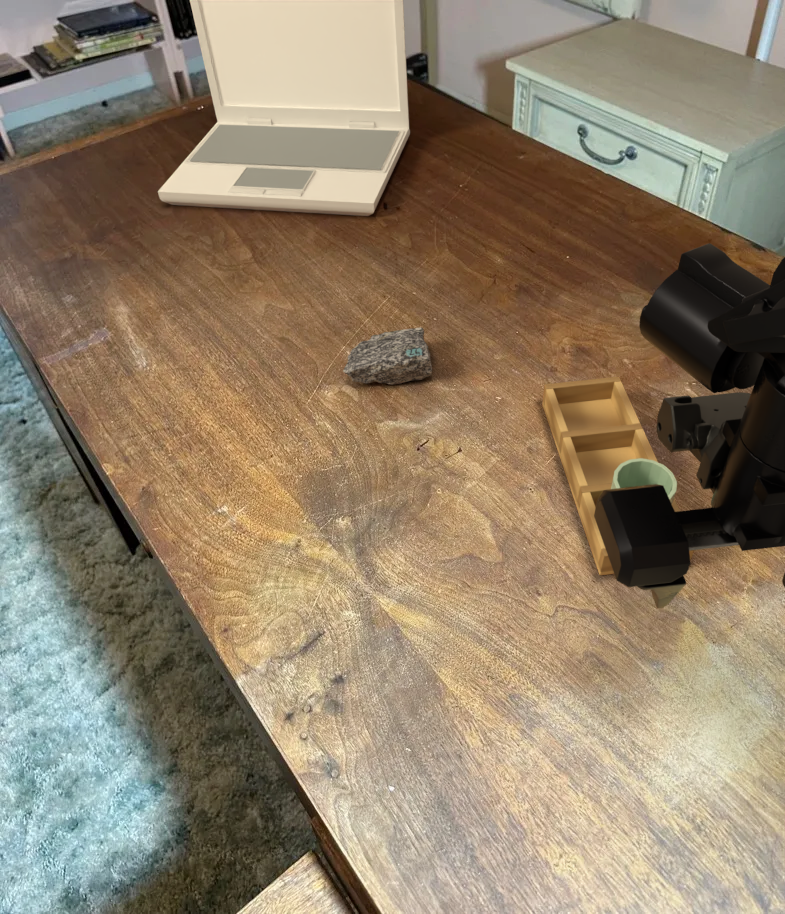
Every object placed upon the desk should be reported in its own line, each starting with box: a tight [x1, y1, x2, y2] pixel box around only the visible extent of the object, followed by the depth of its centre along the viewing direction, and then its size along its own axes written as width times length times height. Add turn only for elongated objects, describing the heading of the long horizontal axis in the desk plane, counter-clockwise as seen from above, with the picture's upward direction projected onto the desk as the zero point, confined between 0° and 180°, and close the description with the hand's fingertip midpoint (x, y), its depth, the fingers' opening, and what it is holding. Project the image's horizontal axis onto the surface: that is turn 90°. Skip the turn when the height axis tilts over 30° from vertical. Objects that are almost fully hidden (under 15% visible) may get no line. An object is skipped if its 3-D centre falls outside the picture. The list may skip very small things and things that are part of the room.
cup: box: [611, 458, 678, 504], centre depth 69 cm, size 5×5×7 cm
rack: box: [541, 376, 695, 576], centre depth 76 cm, size 23×8×3 cm, turn 5°
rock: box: [342, 327, 433, 385], centre depth 89 cm, size 8×10×4 cm
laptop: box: [157, 0, 411, 217], centre depth 116 cm, size 35×26×28 cm
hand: (722, 595), depth 53 cm, fingers open, 9 cm apart
